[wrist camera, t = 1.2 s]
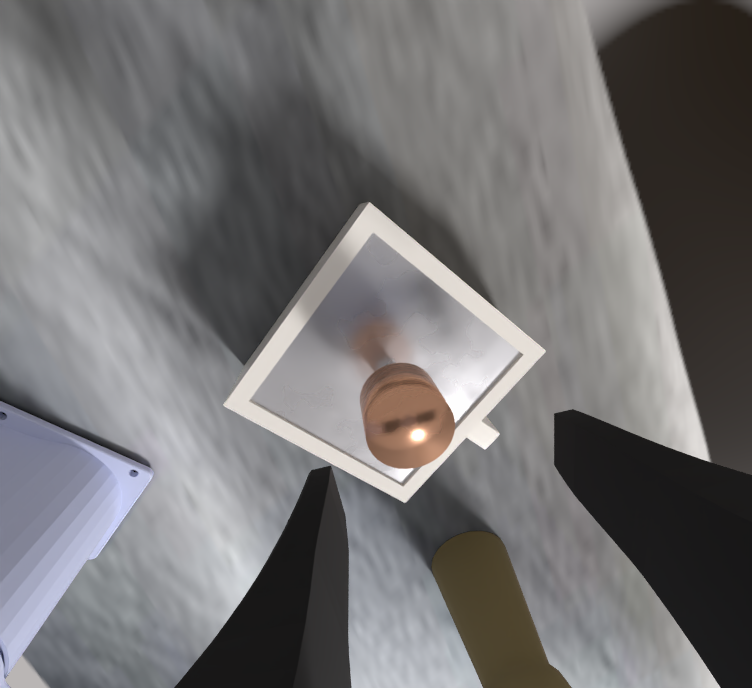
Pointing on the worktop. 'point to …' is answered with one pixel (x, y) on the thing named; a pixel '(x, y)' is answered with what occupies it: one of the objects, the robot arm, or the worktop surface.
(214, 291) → the worktop surface
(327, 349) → the copper knob lid
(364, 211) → the white shallow open box
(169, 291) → the worktop surface
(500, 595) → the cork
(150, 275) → the worktop surface
